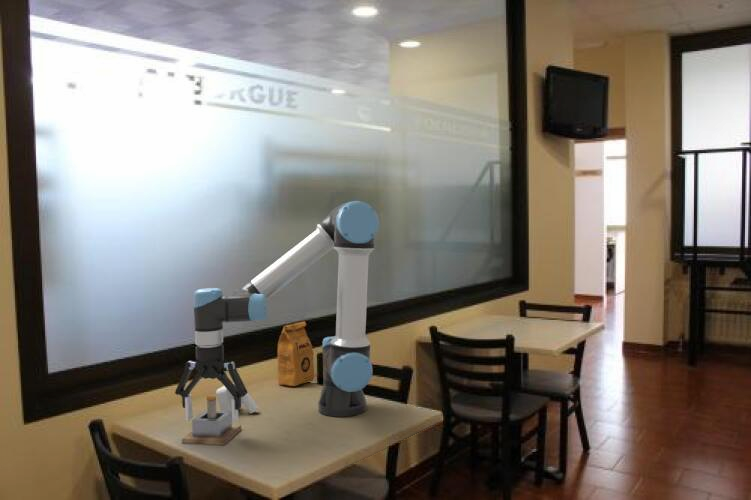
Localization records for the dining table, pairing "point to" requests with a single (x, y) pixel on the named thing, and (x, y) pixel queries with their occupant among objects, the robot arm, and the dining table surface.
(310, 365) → the coffee package
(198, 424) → the link
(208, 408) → the keeper
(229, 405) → the wall hook
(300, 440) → the dining table surface
